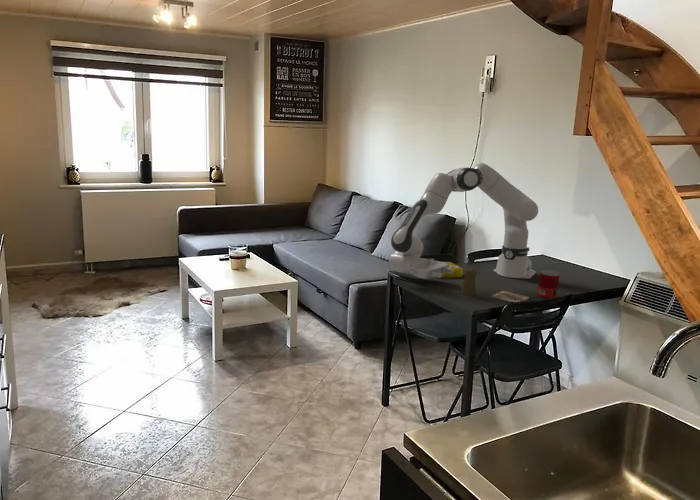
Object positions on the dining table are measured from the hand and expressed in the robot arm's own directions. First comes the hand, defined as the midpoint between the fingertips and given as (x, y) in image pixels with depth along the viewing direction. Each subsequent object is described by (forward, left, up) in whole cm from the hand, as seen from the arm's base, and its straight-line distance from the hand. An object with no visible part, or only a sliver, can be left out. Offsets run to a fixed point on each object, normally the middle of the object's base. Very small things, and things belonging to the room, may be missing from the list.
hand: (447, 273), depth 253 cm
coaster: (-9, +26, -6) cm, 28 cm away
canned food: (-24, +36, -7) cm, 44 cm away
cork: (0, +11, -7) cm, 13 cm away
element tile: (-22, -15, -7) cm, 28 cm away
